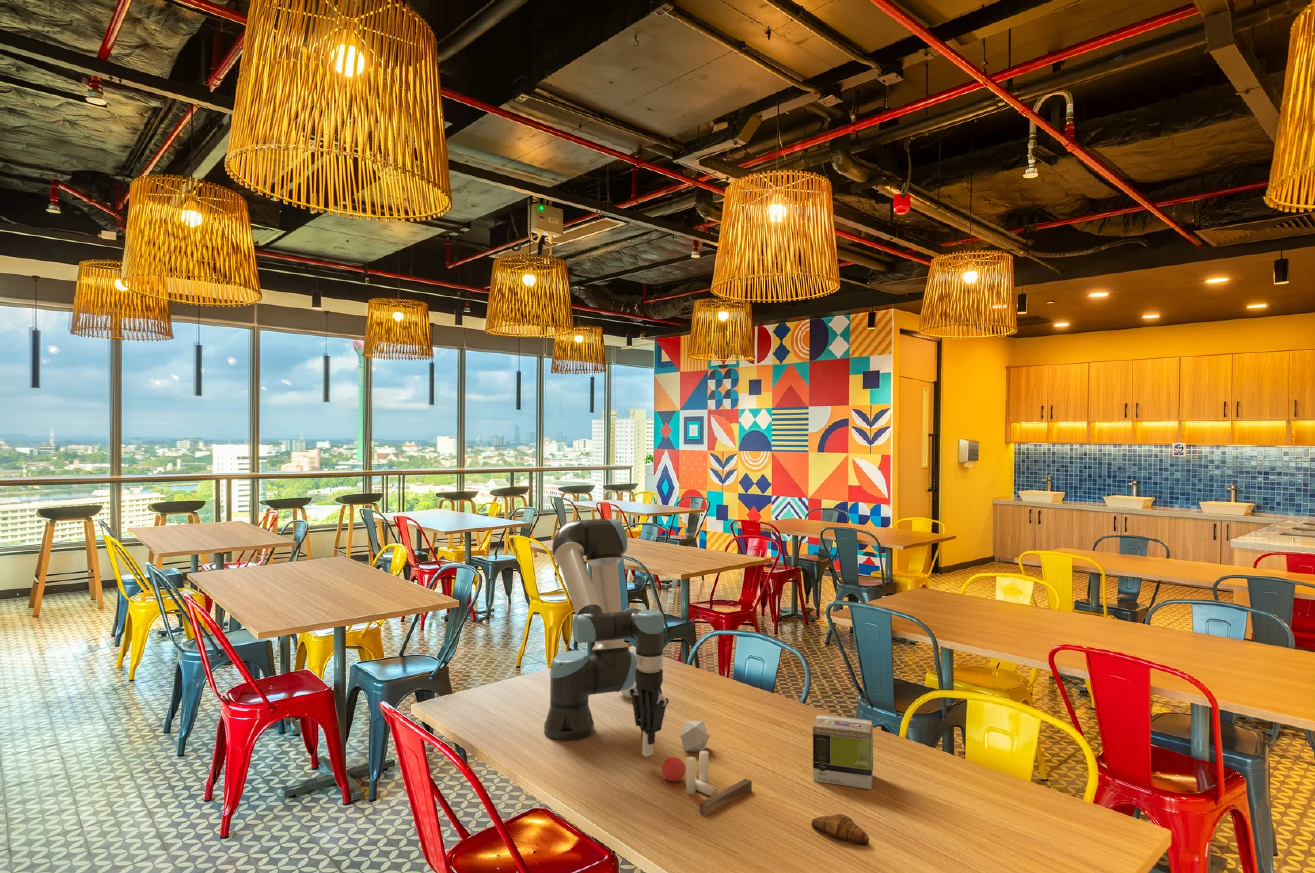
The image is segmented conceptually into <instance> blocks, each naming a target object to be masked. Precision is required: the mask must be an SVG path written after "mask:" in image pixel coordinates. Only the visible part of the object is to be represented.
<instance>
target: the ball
mask: <svg viewBox="0 0 1315 873" xmlns="http://www.w3.org/2000/svg"><path fill="white" fill-rule="evenodd" d="M684 763H685V762H683V759H682V758H680V757H677V756H670V757H668V758H666V759H665V760H664V762H663V763H662V769H661V771H662V775H663V776H664V777H665V779H666V780H668V781H669V782H679V781H681V779H682V778H683V777H684V775H685V774H686V767H685V766H686V765H685V764H684Z"/></svg>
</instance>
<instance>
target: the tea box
mask: <svg viewBox="0 0 1315 873" xmlns="http://www.w3.org/2000/svg"><path fill="white" fill-rule="evenodd" d="M873 725H874V724H873V720H871V719H863V718H854V717H847V716H846V717H845V716H837V715H836V716H835V715H826V714H818V713H817V714H816V717H815V719H814V722H813V725H812V780H813V782H820V783H825V784H826V783H827V784H832V785H839V786H846V787H853V788H859V789H865V790H872V788H873V787H872V786H873V776H874V775H873V774H874V734H873V733H874V732H873V730H874V729H873Z"/></svg>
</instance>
